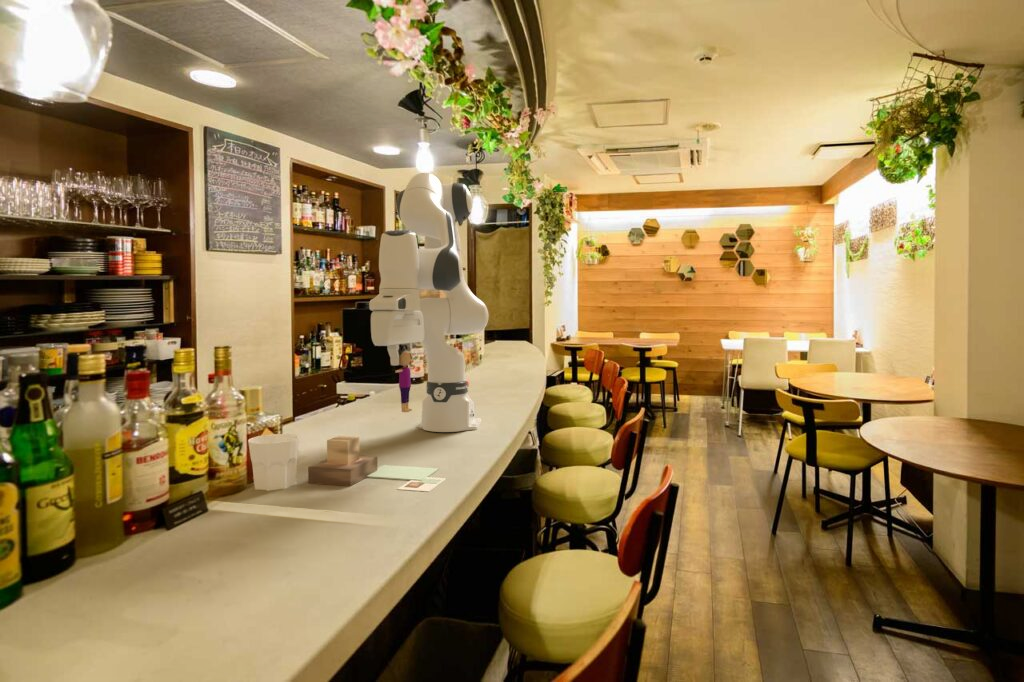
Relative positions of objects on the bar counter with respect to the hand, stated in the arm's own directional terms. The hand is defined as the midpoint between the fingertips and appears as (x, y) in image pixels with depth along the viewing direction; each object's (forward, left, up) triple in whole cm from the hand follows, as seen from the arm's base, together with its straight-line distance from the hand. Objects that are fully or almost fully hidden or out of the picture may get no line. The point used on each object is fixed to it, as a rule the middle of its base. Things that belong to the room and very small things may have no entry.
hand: (400, 364), depth 137 cm
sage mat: (0, 0, -25) cm, 25 cm away
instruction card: (+7, +8, -25) cm, 27 cm away
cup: (+15, -22, -25) cm, 36 cm away
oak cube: (+6, -11, -21) cm, 25 cm away
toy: (0, 0, -11) cm, 11 cm away
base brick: (+6, -11, -25) cm, 28 cm away
